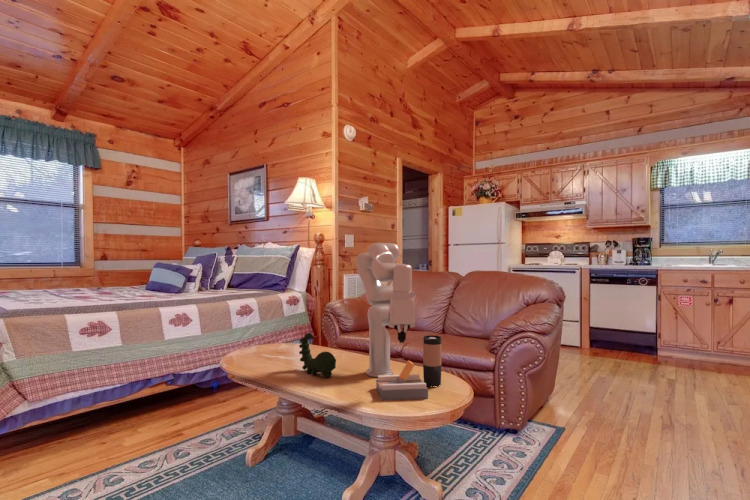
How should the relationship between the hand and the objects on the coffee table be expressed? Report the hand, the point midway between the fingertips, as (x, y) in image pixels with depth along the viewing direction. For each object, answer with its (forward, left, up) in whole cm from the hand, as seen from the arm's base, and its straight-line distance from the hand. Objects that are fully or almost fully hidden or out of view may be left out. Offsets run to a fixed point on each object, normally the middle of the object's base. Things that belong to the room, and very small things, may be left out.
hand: (401, 341), depth 159 cm
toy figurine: (-29, -33, -20) cm, 48 cm away
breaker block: (0, 0, -20) cm, 20 cm away
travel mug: (-9, +15, -20) cm, 27 cm away
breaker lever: (0, -1, -16) cm, 16 cm away
